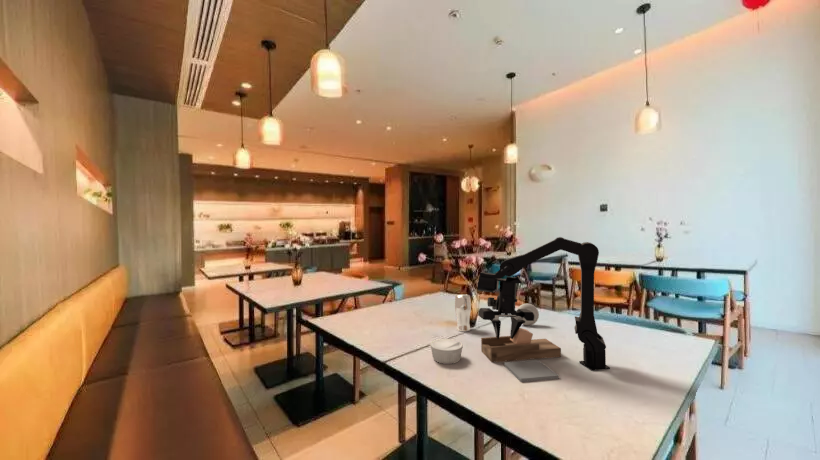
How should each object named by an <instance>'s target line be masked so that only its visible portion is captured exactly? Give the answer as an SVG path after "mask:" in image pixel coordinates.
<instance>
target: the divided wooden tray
mask: <svg viewBox="0 0 820 460" xmlns="http://www.w3.org/2000/svg"><path fill="white" fill-rule="evenodd" d="M480 339H481V340H480V342H481V346H480V347H481V353H482V354H483V355H484V356H485V357H486V358H487V359H488V360H489V361H490V362H491V363H501V362H502V363H504V362H514V361H527V360H540V359H550V358H553V359H554V358H561V357H562V348H561V347H560V346H559V345H556V344H555V343H553V342H552V341H550V340H548V339H547V338H537V339H531V343H530V344H518V345H517V344H515V343H514V342H513V341H511V340H510V335H503V336H499V339H497V337H496V336H490V337H489V336H488V337H481V338H480Z"/></svg>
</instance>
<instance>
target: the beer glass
mask: <svg viewBox="0 0 820 460" xmlns="http://www.w3.org/2000/svg"><path fill="white" fill-rule="evenodd" d="M454 299H455V300H454V309H455V316H456V320H457V321H456V323H457V324H456V331H458V332H461V333H462V332H463V333H465V332H470V331H471V325H470V317H471V311H472V301H471V295H470V294H465V293H463V294H456V295H455V296H454Z"/></svg>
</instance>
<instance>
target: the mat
mask: <svg viewBox="0 0 820 460" xmlns="http://www.w3.org/2000/svg"><path fill="white" fill-rule="evenodd" d="M503 366H504V367H505V368H506V369H507V370H508V371H509V372H510V373H511V374H512V375H513V377H515V378H516V380H518V381H519V382H520V383H526V382H537V381H545V380H546V381H547V380H559V379H560V378H559V376H560V375H559V373H556V372H555V371H554V370H553V369H551V368H550V367H548V366H547V365H546V364H545V363H543V361H541V360H540V359H528V360H516V361H503Z"/></svg>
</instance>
